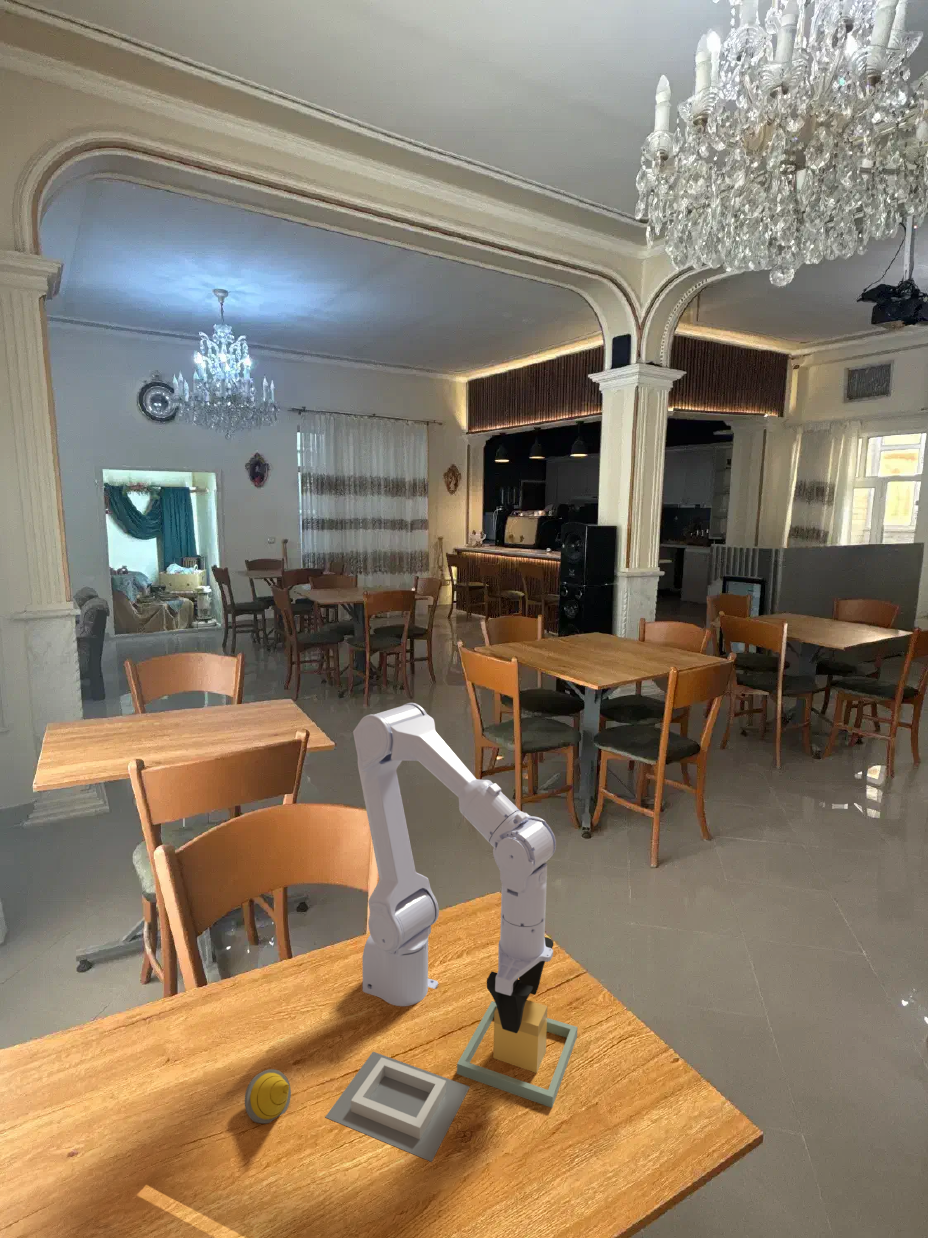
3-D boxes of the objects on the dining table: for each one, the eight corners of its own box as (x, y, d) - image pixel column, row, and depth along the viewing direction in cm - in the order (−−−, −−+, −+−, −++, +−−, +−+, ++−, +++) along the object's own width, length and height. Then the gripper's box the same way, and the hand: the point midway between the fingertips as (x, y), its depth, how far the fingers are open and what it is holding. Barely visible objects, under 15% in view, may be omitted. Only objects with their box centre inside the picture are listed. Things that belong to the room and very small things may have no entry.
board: (325, 1123, 80) (324, 1106, 80) (372, 1057, 90) (372, 1041, 90) (431, 1168, 75) (431, 1149, 74) (469, 1092, 85) (470, 1076, 84)
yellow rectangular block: (493, 1060, 89) (494, 1012, 88) (503, 1039, 93) (505, 993, 92) (536, 1075, 87) (538, 1026, 86) (545, 1053, 90) (547, 1006, 90)
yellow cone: (287, 1089, 85) (318, 1073, 79) (264, 1137, 81) (296, 1124, 75) (252, 1066, 85) (281, 1049, 79) (227, 1113, 81) (256, 1099, 75)
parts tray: (456, 1079, 87) (457, 1064, 86) (491, 1015, 98) (491, 1001, 98) (552, 1113, 82) (552, 1097, 81) (577, 1041, 93) (577, 1027, 93)
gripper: (536, 954, 79) (532, 1059, 81) (567, 893, 92) (563, 984, 94) (480, 939, 82) (478, 1040, 84) (518, 882, 95) (515, 970, 97)
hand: (520, 1009), depth 89 cm, fingers open, 7 cm apart
